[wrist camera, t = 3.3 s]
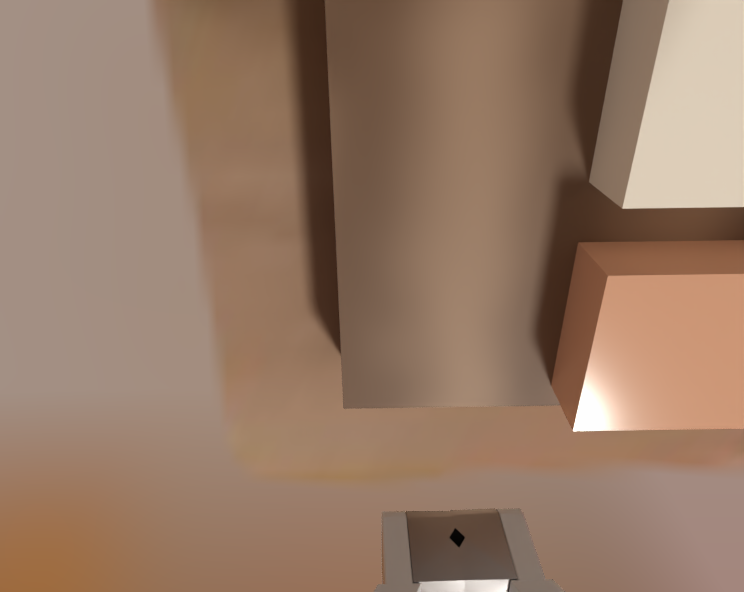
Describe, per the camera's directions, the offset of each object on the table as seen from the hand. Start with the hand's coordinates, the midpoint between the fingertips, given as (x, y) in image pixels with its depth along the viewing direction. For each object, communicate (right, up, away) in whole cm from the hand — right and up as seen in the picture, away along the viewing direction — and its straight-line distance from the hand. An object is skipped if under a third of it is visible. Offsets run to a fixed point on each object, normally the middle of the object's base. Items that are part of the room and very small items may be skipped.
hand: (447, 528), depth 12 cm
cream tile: (+8, +11, +4) cm, 14 cm away
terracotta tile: (+8, +4, +8) cm, 12 cm away
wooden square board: (+5, +9, +8) cm, 13 cm away
